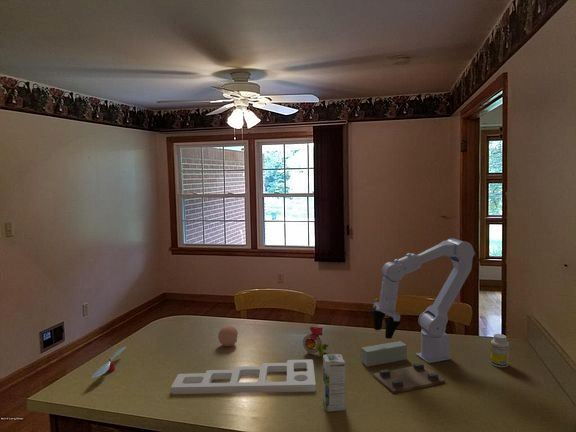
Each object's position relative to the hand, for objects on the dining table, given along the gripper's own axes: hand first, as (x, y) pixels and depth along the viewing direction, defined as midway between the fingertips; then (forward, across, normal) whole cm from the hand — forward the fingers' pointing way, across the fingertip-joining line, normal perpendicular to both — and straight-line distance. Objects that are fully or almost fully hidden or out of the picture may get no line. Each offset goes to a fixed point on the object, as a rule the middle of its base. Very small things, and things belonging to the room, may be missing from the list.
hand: (382, 333), depth 149 cm
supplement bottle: (+4, +17, +37) cm, 41 cm away
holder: (+18, -4, -46) cm, 50 cm away
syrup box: (+14, +21, -27) cm, 37 cm away
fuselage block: (+10, 0, +2) cm, 10 cm away
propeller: (+25, -28, -90) cm, 97 cm away
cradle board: (+9, +15, +2) cm, 18 cm away
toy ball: (+19, -34, -47) cm, 61 cm away
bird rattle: (+14, -14, -18) cm, 27 cm away
